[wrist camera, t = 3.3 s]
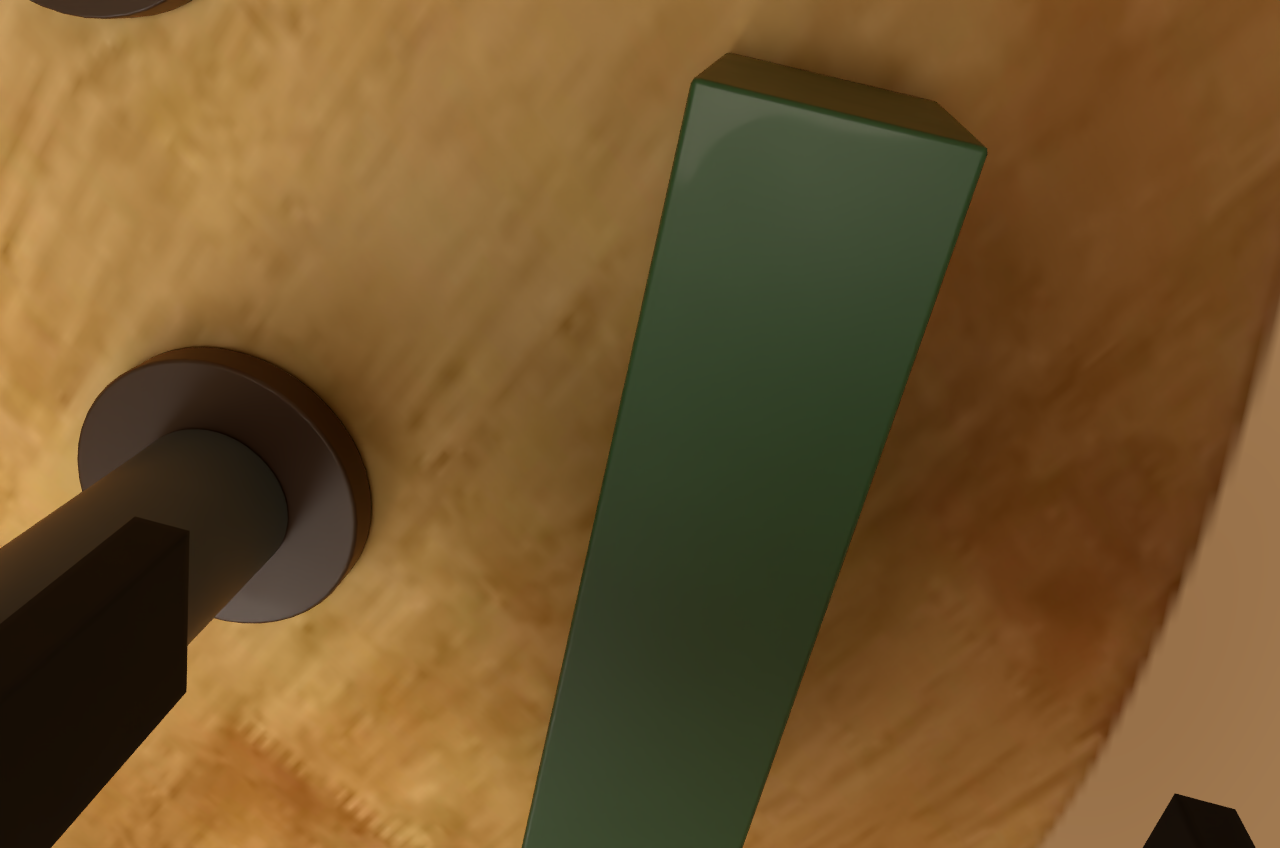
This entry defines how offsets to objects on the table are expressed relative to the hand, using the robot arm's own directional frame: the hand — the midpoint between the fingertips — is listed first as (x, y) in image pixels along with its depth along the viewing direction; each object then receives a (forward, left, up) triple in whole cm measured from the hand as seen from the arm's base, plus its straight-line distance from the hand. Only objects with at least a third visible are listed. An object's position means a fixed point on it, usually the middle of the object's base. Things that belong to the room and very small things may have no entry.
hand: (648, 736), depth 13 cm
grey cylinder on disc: (+10, 0, -7) cm, 12 cm away
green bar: (0, 0, -7) cm, 7 cm away
